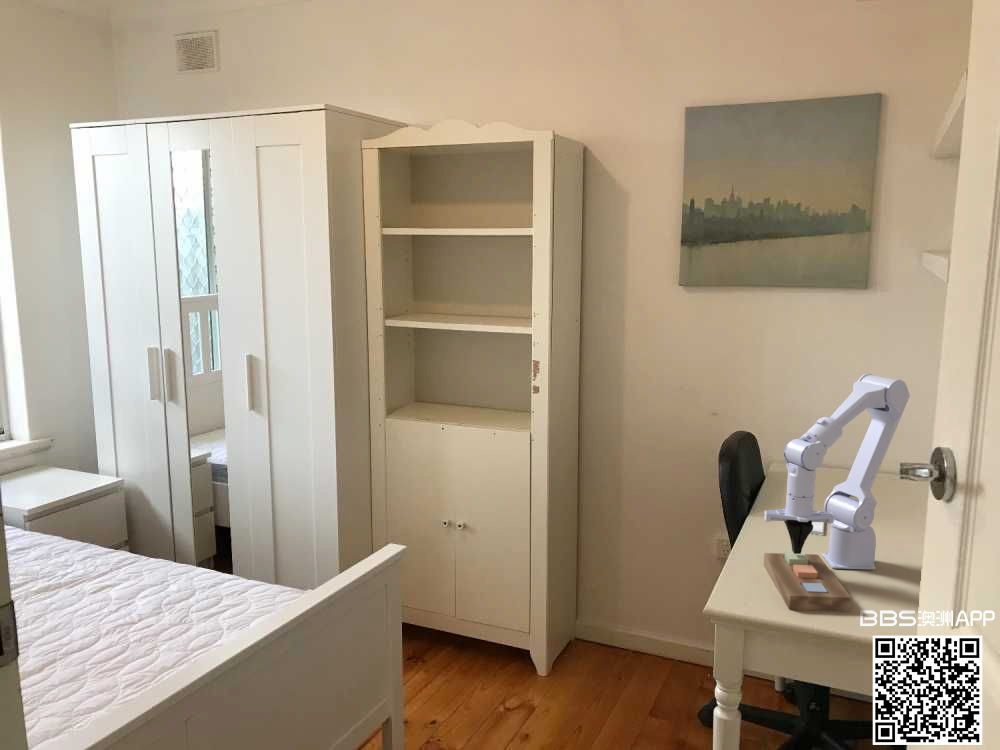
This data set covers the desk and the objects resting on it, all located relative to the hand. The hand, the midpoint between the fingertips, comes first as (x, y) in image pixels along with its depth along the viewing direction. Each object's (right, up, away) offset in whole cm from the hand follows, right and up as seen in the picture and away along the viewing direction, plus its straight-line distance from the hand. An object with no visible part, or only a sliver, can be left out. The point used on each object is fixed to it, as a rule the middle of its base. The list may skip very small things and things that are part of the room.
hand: (796, 552), depth 181 cm
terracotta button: (-1, -4, -6) cm, 8 cm away
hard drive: (+14, 0, +31) cm, 34 cm away
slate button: (-1, -7, -13) cm, 15 cm away
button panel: (0, -6, -6) cm, 9 cm away
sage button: (0, -3, +1) cm, 3 cm away
